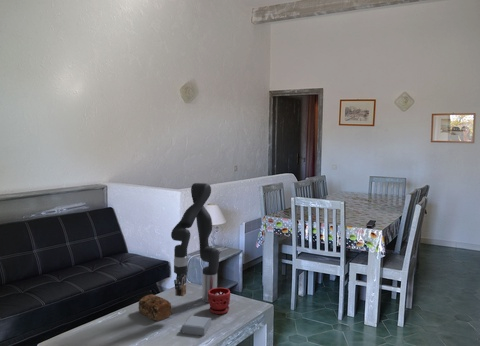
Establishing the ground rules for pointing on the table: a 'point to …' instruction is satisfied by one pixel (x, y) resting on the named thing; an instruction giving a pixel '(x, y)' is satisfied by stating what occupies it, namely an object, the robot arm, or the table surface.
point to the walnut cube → (183, 290)
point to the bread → (155, 307)
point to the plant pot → (219, 300)
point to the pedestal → (196, 325)
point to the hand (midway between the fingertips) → (180, 293)
